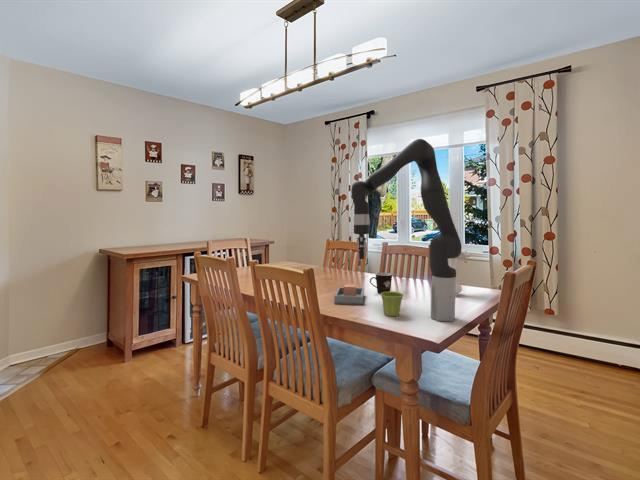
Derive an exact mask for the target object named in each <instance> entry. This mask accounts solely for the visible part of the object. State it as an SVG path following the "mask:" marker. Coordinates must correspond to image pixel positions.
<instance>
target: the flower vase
mask: <svg viewBox="0 0 640 480" xmlns="http://www.w3.org/2000/svg"><path fill="white" fill-rule="evenodd" d="M467 251H468V250H467V248H464V249H463V251H462V250H461V253H460V255H459V256H458V257H456V258H450V259H448V264H449V266H450V267H451V268H454V269H455V270H456V271H457V262H459V263H461V262H464V263H465V264H467V263H468V259H467V258H470V257H471V256H472V255H471V253H467ZM462 291H463V287H462V285H461V284H460V283H459V281H458V280H457V278H456V294H455V297H458V296H459V294H460V293H461V292H462Z"/></svg>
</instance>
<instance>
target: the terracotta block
mask: <svg viewBox="0 0 640 480" xmlns="http://www.w3.org/2000/svg"><path fill="white" fill-rule="evenodd" d="M343 287H344V296H356V288H357V285H356V284H350V283H349V284H348V283H347V284H344V285H343Z"/></svg>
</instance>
